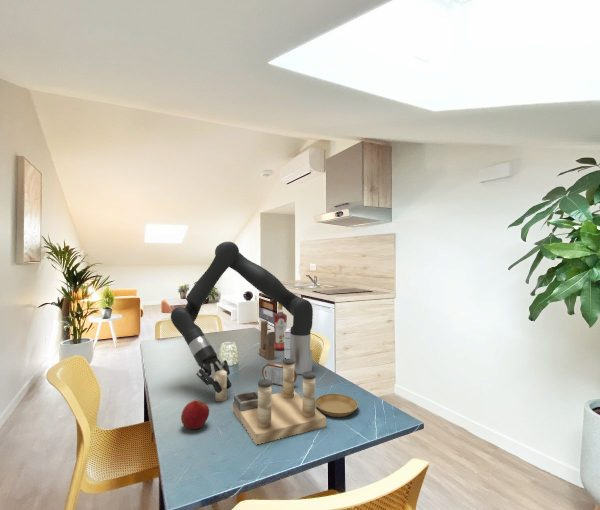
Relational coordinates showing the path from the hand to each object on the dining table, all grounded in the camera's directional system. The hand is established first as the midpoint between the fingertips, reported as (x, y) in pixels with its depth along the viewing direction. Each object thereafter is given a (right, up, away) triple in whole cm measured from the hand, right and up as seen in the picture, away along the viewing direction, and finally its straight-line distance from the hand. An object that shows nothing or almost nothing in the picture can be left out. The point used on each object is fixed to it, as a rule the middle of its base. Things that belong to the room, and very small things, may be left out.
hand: (224, 389), depth 122 cm
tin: (+19, -5, +16) cm, 25 cm away
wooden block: (+10, -4, +52) cm, 53 cm away
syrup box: (+23, -4, +52) cm, 57 cm away
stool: (+20, -4, -13) cm, 24 cm away
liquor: (+16, -4, +67) cm, 69 cm away
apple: (-5, -4, -19) cm, 20 cm away
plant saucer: (+40, -5, -6) cm, 41 cm away
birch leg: (-2, -4, +1) cm, 5 cm away
